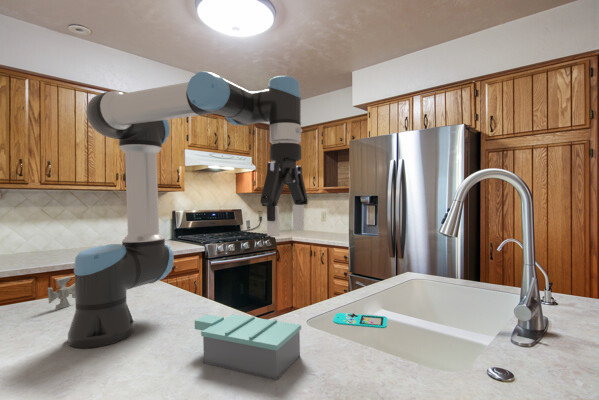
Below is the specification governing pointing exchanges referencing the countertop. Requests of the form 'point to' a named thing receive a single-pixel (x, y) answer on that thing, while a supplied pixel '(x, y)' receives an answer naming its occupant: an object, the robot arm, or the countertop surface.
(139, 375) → the countertop surface
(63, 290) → the cross
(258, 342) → the lid
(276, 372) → the tub
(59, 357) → the countertop surface
